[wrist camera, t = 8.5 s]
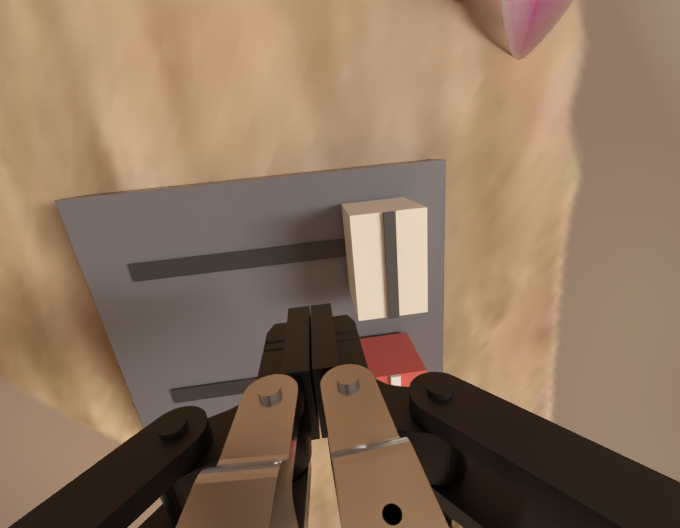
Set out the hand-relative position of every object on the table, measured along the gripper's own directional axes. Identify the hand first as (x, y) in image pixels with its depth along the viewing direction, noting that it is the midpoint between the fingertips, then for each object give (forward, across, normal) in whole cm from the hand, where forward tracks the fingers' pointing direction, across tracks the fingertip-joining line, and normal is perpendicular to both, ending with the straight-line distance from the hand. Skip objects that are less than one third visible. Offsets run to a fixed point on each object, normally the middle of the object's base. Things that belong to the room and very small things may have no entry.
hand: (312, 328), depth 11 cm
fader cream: (+10, -4, 0) cm, 11 cm away
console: (+13, +3, +6) cm, 15 cm away
